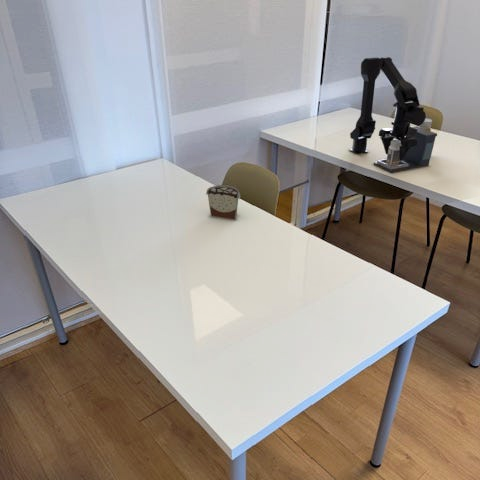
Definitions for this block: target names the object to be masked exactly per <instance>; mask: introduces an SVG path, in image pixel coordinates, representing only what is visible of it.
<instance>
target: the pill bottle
mask: <svg viewBox="0 0 480 480" xmlns="http://www.w3.org/2000/svg"><path fill="white" fill-rule="evenodd" d="M400 145H401V141H400V140H397V139H393V140H392V141H391V146H389V149H388V154H386V155H387V156H386V159H387V160H386V164H388V165H390V166H397V165H399V162H400V157H399V156H400Z"/></svg>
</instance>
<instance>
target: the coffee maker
mask: <svg viewBox="0 0 480 480" xmlns="http://www.w3.org/2000/svg"><path fill="white" fill-rule="evenodd" d="M411 127H412V128H415V129H418V130H417V132H416V135H415V137H414V138H417V139H418V143H417V146H414V147H411V148H410V149H409V150H408V152H407V153H406V155H405V157H404V158H403V160H402V161H400V162H399V165H397V166H390V165H388V164H386V160H387V158H383V159H378V160H377V161H374V162H373V166H376V168H377V167H378V168H379V169H381V170H384V171H385V172H388V173H389V174H395V173H400V172H405V171H410V170H415V169H420V168H426V167H430V162H431V157H432V153H433V150H434V146H435V142H436V138H437V136H438V133H437V132H434V131H432V130H431V131H428V130H426V129H423V128H420V127H417V126H416V125H415V126H411ZM411 136H412V135H409V136H405V137H411ZM412 137H413V136H412Z"/></svg>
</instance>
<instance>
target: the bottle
mask: <svg viewBox="0 0 480 480" xmlns="http://www.w3.org/2000/svg"><path fill="white" fill-rule="evenodd" d="M432 123H433V119H431V118H427V117H426V118H425V121H424V122H423V123H422V124H421V125H420V126H417V127H420V128H423V129H426V130H428V131H431V132H432V129H431V127H432Z"/></svg>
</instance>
